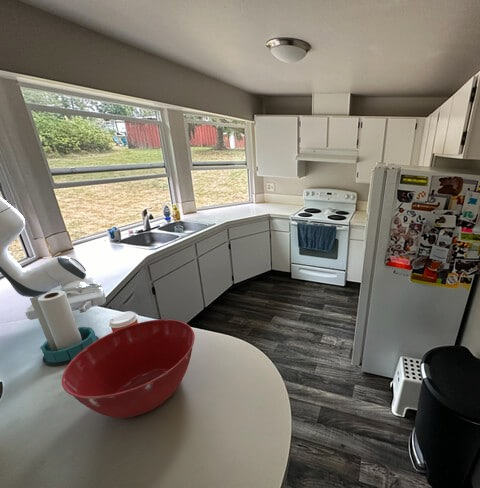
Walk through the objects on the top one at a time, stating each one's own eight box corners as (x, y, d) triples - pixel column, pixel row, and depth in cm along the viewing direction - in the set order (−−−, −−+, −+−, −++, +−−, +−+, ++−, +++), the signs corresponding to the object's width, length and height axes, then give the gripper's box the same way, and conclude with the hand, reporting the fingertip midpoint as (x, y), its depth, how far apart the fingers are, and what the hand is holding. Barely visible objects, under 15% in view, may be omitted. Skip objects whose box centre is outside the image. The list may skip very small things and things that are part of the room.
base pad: (48, 373, 77) (43, 361, 76) (39, 353, 85) (33, 341, 83) (105, 347, 88) (101, 336, 87) (92, 331, 96) (88, 320, 94)
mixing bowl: (127, 357, 85) (115, 319, 79) (213, 353, 87) (208, 316, 82) (47, 449, 58) (23, 401, 53) (176, 440, 61) (164, 393, 56)
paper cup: (119, 362, 82) (108, 327, 78) (117, 349, 88) (107, 316, 83) (147, 351, 87) (138, 318, 83) (144, 339, 93) (136, 307, 88)
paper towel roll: (88, 344, 88) (69, 291, 81) (68, 357, 83) (46, 301, 75) (72, 340, 90) (53, 288, 82) (52, 352, 84) (29, 297, 77)
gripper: (30, 296, 89) (14, 316, 78) (105, 282, 99) (99, 298, 89) (37, 311, 91) (21, 333, 80) (109, 296, 101) (104, 313, 91)
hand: (63, 314), depth 84 cm, fingers open, 8 cm apart
